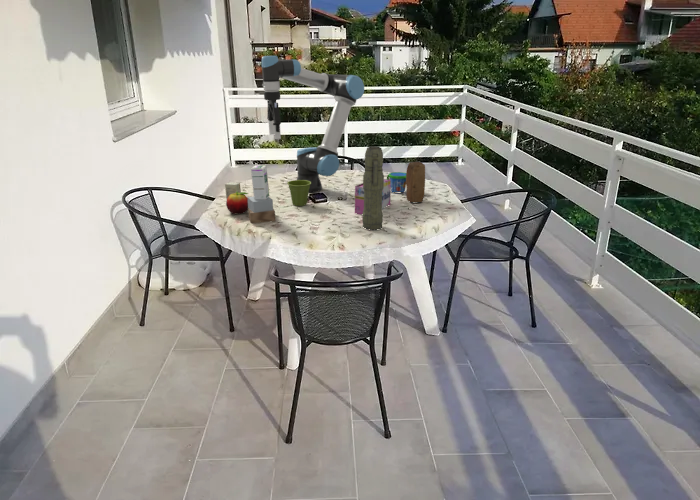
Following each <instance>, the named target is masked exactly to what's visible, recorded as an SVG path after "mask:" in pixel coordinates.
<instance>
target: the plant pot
mask: <svg viewBox="0 0 700 500" xmlns="http://www.w3.org/2000/svg"><path fill="white" fill-rule="evenodd" d="M310 184H311V182H310V181H307V180H297V179H295V180H288V181H287V185H288V190H289V193H290V198H291V203H292V205H293V206H296V207H299V206H300V207H305V206H306V205H308V198H309V188H310Z"/></svg>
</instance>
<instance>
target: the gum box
mask: <svg viewBox="0 0 700 500" xmlns="http://www.w3.org/2000/svg"><path fill="white" fill-rule="evenodd" d="M391 193H392V192H391V179H390V178H389V180H387V178H384V188H383V190H382V210H383V209H385V208H384V207H386V206H388V205H390V206H391V199H392V198H391ZM388 207H389V206H388ZM386 208H387V207H386ZM363 210H364V189H363V182H362V183H360V184H357V185H354V214H355V213H357V214H356V215H359V214H363Z"/></svg>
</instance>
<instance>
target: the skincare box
mask: <svg viewBox="0 0 700 500" xmlns="http://www.w3.org/2000/svg"><path fill="white" fill-rule="evenodd" d="M224 189H225V197H226V199H225V200H227V199H228V197H229V195H230V194H234V193H236V192H238V193H241V192H242V190H241V183H240V182H230V181H229V182H227V183H224Z"/></svg>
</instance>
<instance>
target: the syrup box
mask: <svg viewBox="0 0 700 500" xmlns="http://www.w3.org/2000/svg"><path fill="white" fill-rule="evenodd" d="M267 169H268V168H267V165H265V164H257V165H254V166H252V167H251V168H250V173H251V182H252V183H251V184H252V190H253V192H252V193H253V196H254V199H255V200H266V199H267V198H268V197H270V189H269V178H268V177H269V176H268V170H267Z"/></svg>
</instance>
